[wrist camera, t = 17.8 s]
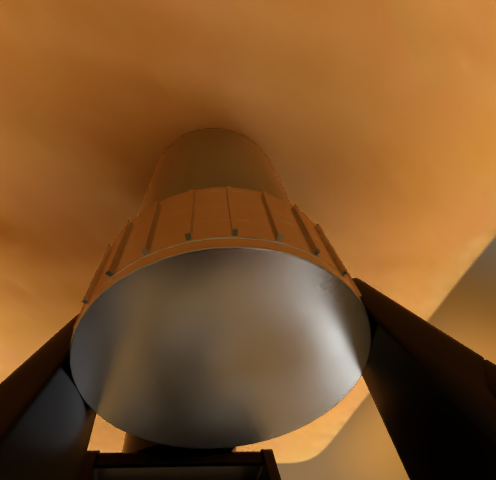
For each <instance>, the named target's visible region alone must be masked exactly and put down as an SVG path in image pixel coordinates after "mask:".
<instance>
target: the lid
mask: <svg viewBox="0 0 496 480" xmlns="http://www.w3.org/2000/svg"><path fill="white" fill-rule="evenodd" d="M361 299H363V297H362V295H361V293H360V291H359V290H358V288H357V286H356V285H355V283H354V281H353V280H352V278H351V276H350V275H349V273H348V271H347V270H346V268H345V266H344V265H343V263H342V261H341V260H340V258H339V256H338V255H337V253H336V251H335V250H334V248H333V246H332V245H331V244H330V242H329V240H328V239H327V237H326V235H325V234H324V232H323V230H322V229H321V227H320V225H319V224H316V225H315V224H314V223H313V222H312V221H311V220H310V219H309V218H308V217H307V216H306V215H305V214H304V213H302V212H301V211H300V210H299V208H298V207H297V206H296V205H293V206H292V205H291V204H289V203H287V202H285V201H283V200H281V199H279V198H277V197H274V196H271V195H268V194H267V192H264V191H263V192H258V191H254V190H249V189H243V188H232V187H231V186H226V187H215V188H205V189H198V190H194V189H191V190H189V191H188V192H185V193H181V194H177V195H174V196H172V197H170V198H167V199H165V200H162V201H160V202H159V201H156V202H154V205H153V206H151V207H149V208H148V209H146V210H144V211H143V212H142V213H140V214H139V215H138V216H137V217H135V218H134V219H133V220H132V221H130V220H128V221H127V222H126V224H125V226H124V229H123V230H122V231H121V232H120V234H119V235H118V237H117V238H116V240H115V241H114V243H113V244H112V245H110V244H109V245H108V247H107V249H106V251H105V253H104V255H103V257H102V259H101V262H100V264H99V266H98V268H97V270H96V272H95V275H94V277H93V279H92V281H91V283H90V285H89V288H88V290H87V292H86V294H85V296H84V298H83V301H82V302H83V303H84V305H83V307H82V309H81V312H80V314H79V316H78V318H77V320H76V323H75V325H74V327H73V335H72V339H71V343H70V347H69V365H70V370H71V375H72V378H73V381H74V383H75V386H76V388H77V390H78V391H79V393H80V395H81V396H82V398H83V399H84V401H85V402H86V403H87V404H88V405H89V406H90V407H91V408H92V410H93V411H94V412H96V413H97V414H98V415H99V416H101V417H102V418H103V419H104V420H106V421H107V422H109V423H110V424H112V425H113V426H115V427H117V428H119V429H121V430H123V431H125V432H127V433H129V434H131V435H134V436H136V437H139V438H142V439H145V440H148V441H152V442H156V443H159V444H165V445H170V446H176V447H186V448H205V449H208V448H226V447H236V446H242V445H248V444H253V443H257V442H262V441H266V440H269V439H272V438H275V437H279V436H282V435H284V434H287V433H289V432H292V431H294V430H297V429H299V428H301V427H303V426H305V425H307V424H309V423H311V422H312V421H314V420H315V419H317V418H319V417H320V416H322V415H323V414H325V413H326V412H328V411H329V410H330V409H332V408H333V407H334V406H335V405H336V404H338V403H339V402H340V401H341V400H342V399H343V398H344V397H345V396H346V395H347V394H348V393H349V392H350V390H351V389H352V388H353V387H354V385H355V384H356V383H357V381H358V380H359V378H360V377H361V375H362V373H363V371H364V369H365V367H366V365H367V361H368V358H369V355H370V350H371V342H372V335H371V324H370V321H369V317H368V313H367V311H366V309H365V307H364V305H363V303H362V301H361Z"/></svg>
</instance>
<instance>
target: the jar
mask: <svg viewBox="0 0 496 480" xmlns="http://www.w3.org/2000/svg"><path fill="white" fill-rule="evenodd" d="M226 186H231V187H232V188H243V189H249V190H254V191H258V192H263V191H264V192H267V194H268V195H271V196H274V197H277V198H279V199H281V200H283V201H285V202H287V203H289V204H291V202H290V200H289V198H288V196H287V194H286V192H285V190H284V188H283V186H282V184H281V182H280V180H279V178H278V176H277V174H276V172H275V170H274V168H273V166H272V165H271V163H270V161H269V159H268V157H267V156H266V154H265V153H264V152H263V150H262V149H261V148H260V147H259V146H258V145H257V144H256V143H254V142H253V141H252V140H250V139H249V138H247V137H246V136H244V135H242V134H239V133H237V132H234V131H231V130H226V129H218V128H209V129H202V130H197V131H194V132H191V133H188V134H186V135H184V136H182V137H181V138H179V139H177V140H176V141H175V142H173V143H172V144H171V145H170V146H169V147H168V148H167V149H166V150H165V152H164V153H163V154H162V156H161V158H160V159H159V161H158V163H157V166H156V168H155V171H154V173H153V176H152V179H151V182H150V184H149V187H148V190H147V192H146V195H145V198H144V201H143V203H142V206H141V209H140V211H139V214H140V213H142V212H143V211H144V210H146V209H148V208H149V207H151V206H153V205H154V202H156V201H159V202H160V201H162V200H165V199H167V198H170V197H172V196H174V195H177V194H181V193H185V192H188V191H189V190H191V189H194V190H198V189H205V188H215V187H226ZM291 205H292V204H291ZM139 214H138V215H139Z"/></svg>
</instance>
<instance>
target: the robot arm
mask: <svg viewBox="0 0 496 480" xmlns="http://www.w3.org/2000/svg"><path fill="white" fill-rule="evenodd" d="M352 280H353V281H354V283H355V285H356V286H357V288H358V290H359V291H360V293H361V295H362V297H363V299H361V301H362V303H363V305H364V307H365V309H366V311H367V313H368V317H369V321H370V324H371V335H372V342H371V350H370V355H369V358H368V361H367V365H366V367H365V369H364V371H363V373H362V376H363V378H364V380H365V383H366V385H367V387H368V389H369V391H370V393H371V395H372V398H373V400H374V402H375V404H376V407H377V409H378V411H379V413H380V415H381V417H382V420H383V422H384V424H385V426H386V428H387V431H388V433H389V435H390V437H391V439H392V442H393V444H394V446H395V448H396V450H397V453H398V455H399V457H400V459H401V461H402V463H403V466H404V468H405V470H406V472H407V474H408V477H409V479H410V480H496V365H495V364H493V363H492V362H490V361H488V360H484V358H483V357H482V356H480V355H479V354H477V353H475V352H474V351H472V350H471V349H469V348H467V347H466V346H464V345H463V344H461V343H459V342H458V341H456V340H455V339H453V338H452V337H450V336H449V335H447V334H445V333H444V332H442V331H441V330H439V329H437V328H436V327H434V326H433V325H431V324H429V323H428V322H426V321H425V320H423V319H422V318H420V317H418V316H417V315H415V314H414V313H412V312H411V311H409V310H407V309H406V308H404V307H403V306H401V305H399V304H398V303H396V302H395V301H393V300H392V299H390V298H388V297H387V296H385V295H384V294H382V293H380V292H379V291H377V290H376V289H374V288H373V287H371V286H369V285H368V284H366V283H365V282H363V281H361V280H360V279H358V278H352ZM79 314H80V313H79ZM79 314H78V315H77V316H75V317H74V318H73V319H72V320H71V321H70V322H69V323H68V324H67V325H65V326H64V327H63V328H62V329H61V330H60V331H59V332H58V333H56V334H55V335H54V336H53V337H52V338H51V339H50V340H49V341H48V342H46V343H45V344H44V345H43V346H42V347H41V348H40V349H39V350H38V351H36V352H35V353H34V354H33V355H32V356H31V357H30V358H29V359H27V360H26V361H25V362H24V363H23V364H22V365H21V366H20V367H19V368H17V369H16V370H15V371H14V372H13V373H12V374H11V375H10V376H8V377H7V378H6V379H5V380H4V381H3V382H2V383H1V384H0V480H281V478H280V474H279V471H278V468H277V464H276V461H275V458H274V454H273V451H272V449H261V450H260V452H236V447H226V448H208V449H205V448H186V447H176V446H170V445H165V444H159V443H156V442H152V441H148V440H145V439H142V438H139V437H136V436H134V435H131V434H129V433H127V432H126V435H125V440H124V445H123V450H122V453H100V451H87V448H88V444H89V440H90V436H91V432H92V428H93V424H94V420H95V417H96V412H94V411H93V410H92V408H91V407H90V406H89V405H88V404H87V403H86V402H85V401H84V399H83V398H82V396H81V395H80V393H79V391H78V390H77V388H76V386H75V383H74V381H73V378H72V375H71V370H70V365H69V347H70V343H71V339H72V335H73V327H74V325H75V323H76V320H77V318H78V316H79Z"/></svg>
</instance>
